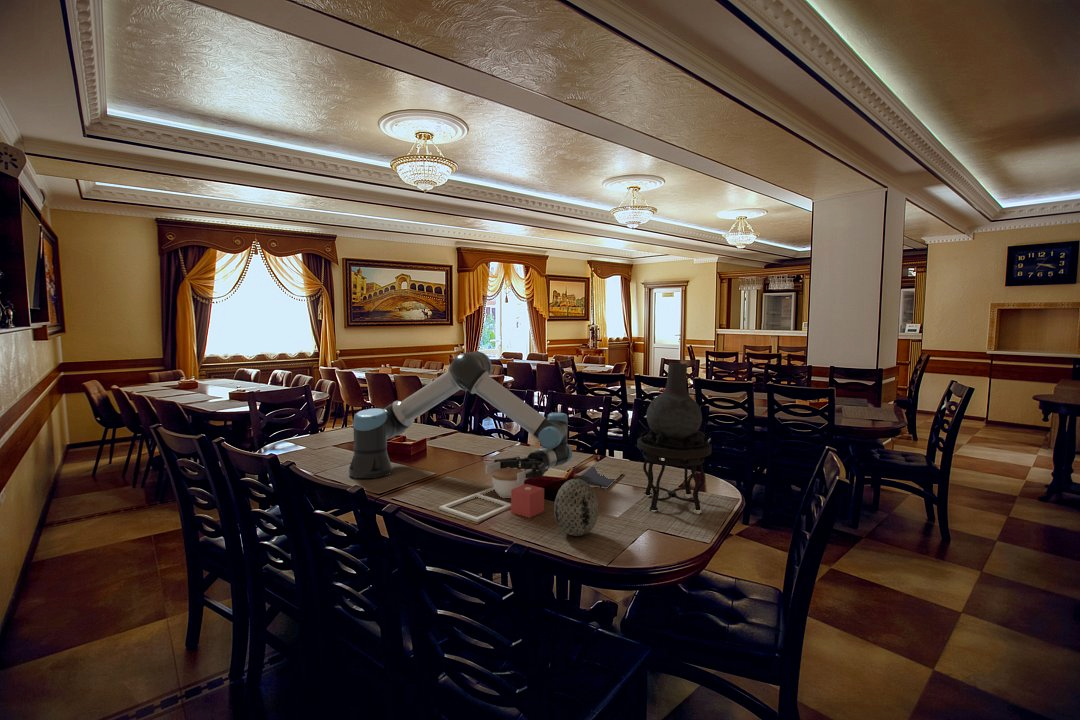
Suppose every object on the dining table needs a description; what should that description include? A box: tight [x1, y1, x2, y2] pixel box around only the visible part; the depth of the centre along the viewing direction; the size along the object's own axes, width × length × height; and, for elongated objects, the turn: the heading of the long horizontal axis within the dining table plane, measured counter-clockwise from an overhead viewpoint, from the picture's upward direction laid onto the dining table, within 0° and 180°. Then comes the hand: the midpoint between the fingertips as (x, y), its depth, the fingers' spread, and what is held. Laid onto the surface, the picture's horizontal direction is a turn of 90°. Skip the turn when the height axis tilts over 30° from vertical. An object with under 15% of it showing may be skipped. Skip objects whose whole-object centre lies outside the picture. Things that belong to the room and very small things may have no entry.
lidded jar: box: [491, 467, 525, 499], centre depth 163 cm, size 11×11×9 cm
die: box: [510, 483, 545, 519], centre depth 148 cm, size 7×7×7 cm
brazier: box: [636, 362, 713, 511], centre depth 156 cm, size 22×22×45 cm
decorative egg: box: [553, 478, 599, 537], centre depth 133 cm, size 12×12×15 cm
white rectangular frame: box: [438, 486, 511, 523], centre depth 157 cm, size 31×16×1 cm, turn 143°
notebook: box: [576, 466, 615, 489], centre depth 183 cm, size 13×2×21 cm
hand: (501, 473), depth 160 cm, fingers open, 13 cm apart
